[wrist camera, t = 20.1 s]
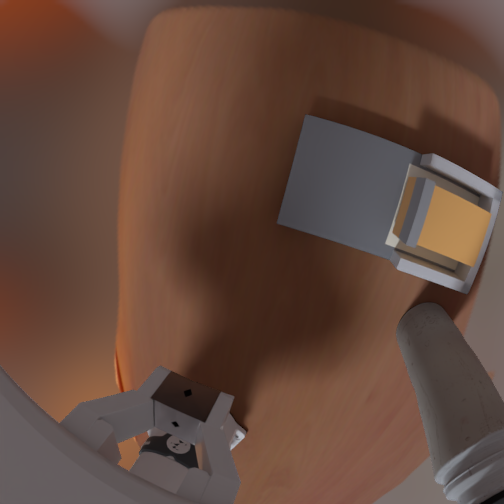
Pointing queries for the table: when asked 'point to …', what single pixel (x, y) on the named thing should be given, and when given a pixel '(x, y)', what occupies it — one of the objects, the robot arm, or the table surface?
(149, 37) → the table surface
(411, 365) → the thermos bottle
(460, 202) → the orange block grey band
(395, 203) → the dock
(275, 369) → the table surface
